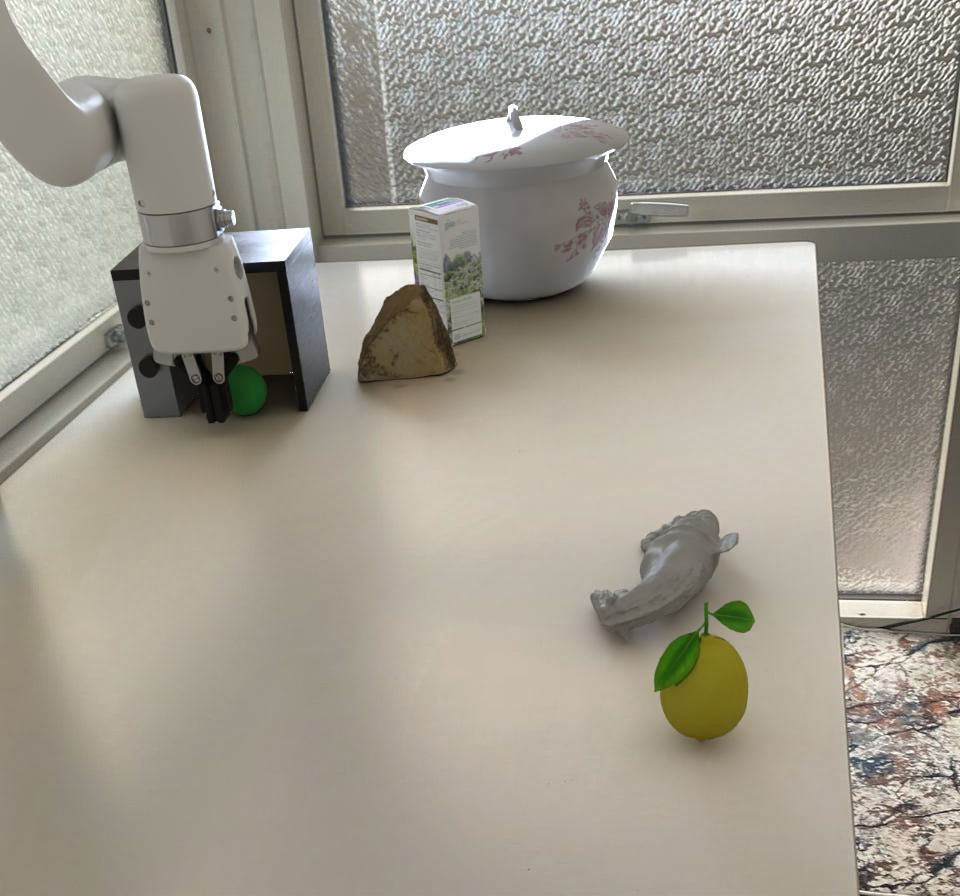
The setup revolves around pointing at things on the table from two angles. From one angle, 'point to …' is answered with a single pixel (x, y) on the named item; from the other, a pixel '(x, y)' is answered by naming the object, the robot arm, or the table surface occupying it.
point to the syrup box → (450, 263)
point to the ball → (247, 390)
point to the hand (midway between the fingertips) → (219, 418)
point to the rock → (406, 339)
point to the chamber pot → (529, 196)
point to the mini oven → (278, 308)
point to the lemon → (705, 677)
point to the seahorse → (666, 572)
